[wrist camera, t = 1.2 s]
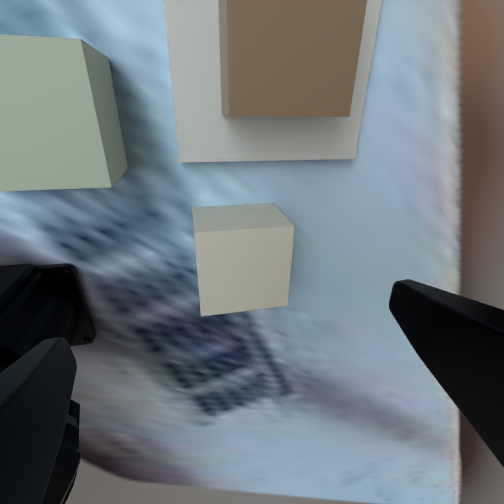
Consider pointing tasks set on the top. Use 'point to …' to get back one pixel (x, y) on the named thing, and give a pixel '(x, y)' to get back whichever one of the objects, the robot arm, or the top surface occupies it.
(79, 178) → the sage brick
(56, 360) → the robot arm
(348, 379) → the top surface
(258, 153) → the baseplate
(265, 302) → the cream brick
